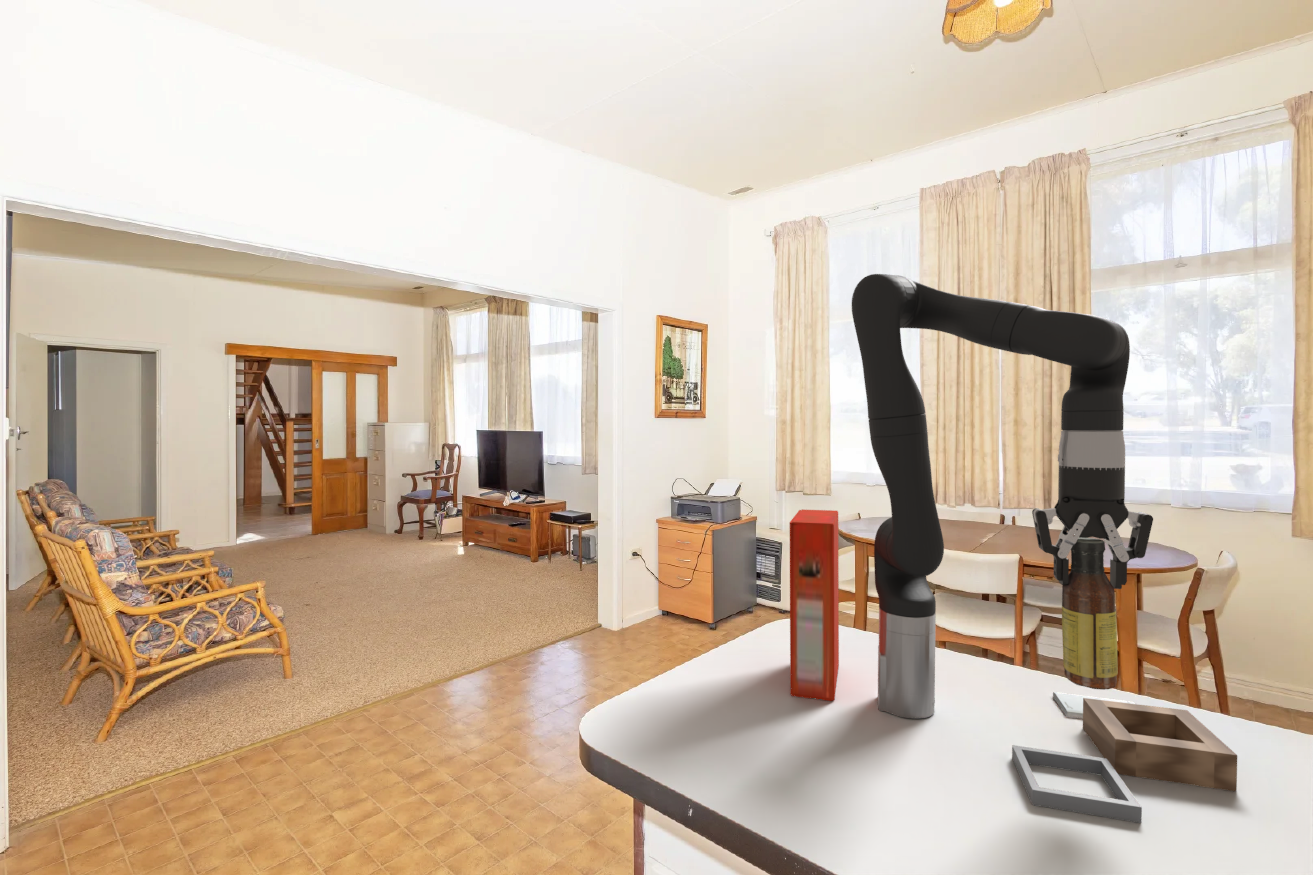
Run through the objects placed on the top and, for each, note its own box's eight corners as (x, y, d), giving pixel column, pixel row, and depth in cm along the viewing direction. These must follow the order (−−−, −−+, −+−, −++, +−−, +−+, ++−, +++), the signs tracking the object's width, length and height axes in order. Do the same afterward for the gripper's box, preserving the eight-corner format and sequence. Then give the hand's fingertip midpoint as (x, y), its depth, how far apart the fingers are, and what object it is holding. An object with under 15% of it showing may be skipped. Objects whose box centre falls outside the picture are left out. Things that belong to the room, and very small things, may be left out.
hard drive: (1066, 710, 107) (1154, 720, 103) (1052, 690, 115) (1133, 699, 111) (1066, 720, 107) (1153, 730, 103) (1052, 699, 115) (1133, 709, 111)
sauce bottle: (1111, 677, 89) (1114, 537, 88) (1122, 695, 83) (1125, 545, 83) (1057, 669, 92) (1059, 533, 91) (1063, 686, 86) (1066, 541, 85)
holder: (1114, 773, 90) (1115, 738, 90) (1082, 728, 103) (1083, 697, 103) (1236, 791, 85) (1237, 755, 85) (1186, 741, 99) (1187, 710, 99)
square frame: (1032, 804, 83) (1032, 789, 82) (1012, 758, 94) (1012, 744, 94) (1141, 822, 79) (1141, 807, 79) (1106, 772, 90) (1106, 758, 90)
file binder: (788, 695, 115) (789, 521, 115) (798, 661, 132) (799, 509, 131) (834, 701, 113) (835, 523, 112) (838, 666, 129) (839, 510, 128)
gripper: (1038, 464, 85) (1036, 588, 86) (1166, 466, 81) (1164, 597, 81) (1025, 461, 92) (1024, 575, 93) (1142, 462, 88) (1140, 583, 88)
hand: (1089, 585), depth 87 cm, fingers closed on sauce bottle, 5 cm apart
